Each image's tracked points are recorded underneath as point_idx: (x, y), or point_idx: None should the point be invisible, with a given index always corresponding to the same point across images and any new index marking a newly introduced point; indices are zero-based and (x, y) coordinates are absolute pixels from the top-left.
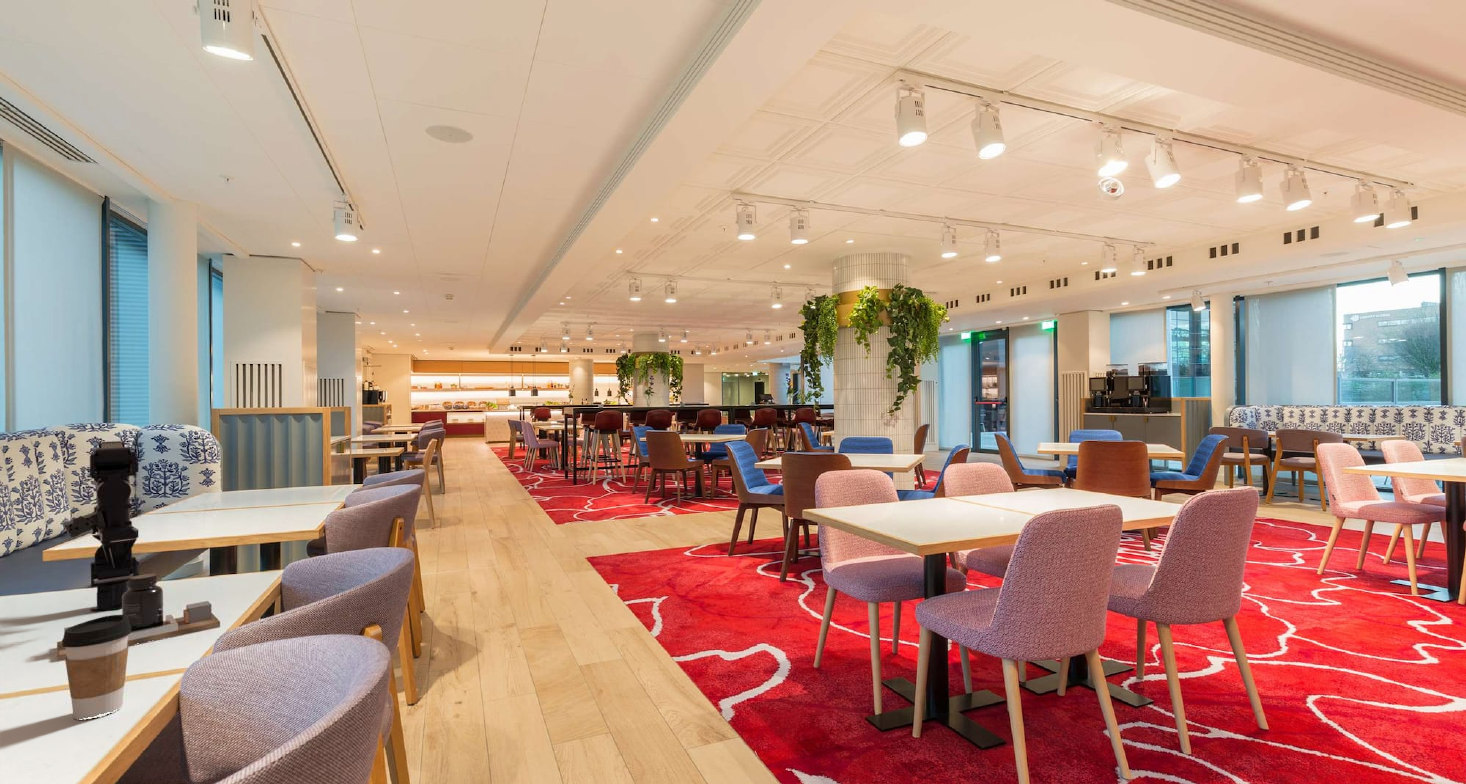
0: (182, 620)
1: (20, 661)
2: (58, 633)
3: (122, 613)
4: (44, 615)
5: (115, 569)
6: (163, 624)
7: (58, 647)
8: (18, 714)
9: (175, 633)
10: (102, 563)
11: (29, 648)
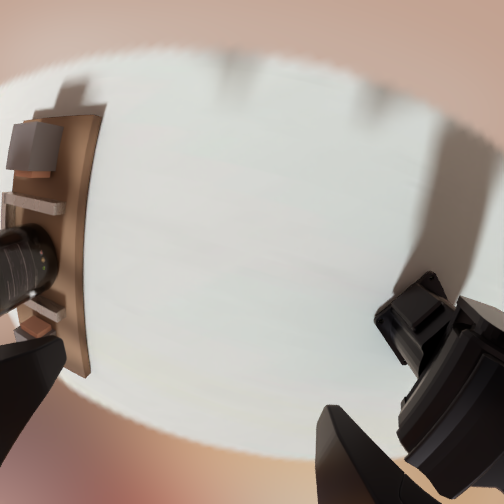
0: (57, 326)
1: (81, 68)
2: (248, 137)
3: (1, 230)
4: (487, 196)
5: (53, 336)
6: (53, 297)
7: (57, 117)
8: None
9: None
10: (468, 377)
11: (156, 73)
